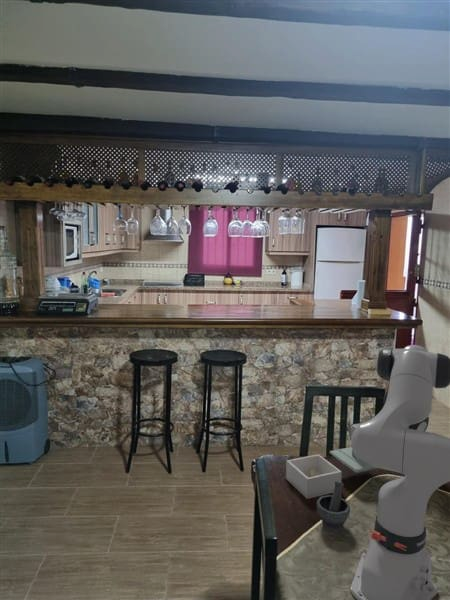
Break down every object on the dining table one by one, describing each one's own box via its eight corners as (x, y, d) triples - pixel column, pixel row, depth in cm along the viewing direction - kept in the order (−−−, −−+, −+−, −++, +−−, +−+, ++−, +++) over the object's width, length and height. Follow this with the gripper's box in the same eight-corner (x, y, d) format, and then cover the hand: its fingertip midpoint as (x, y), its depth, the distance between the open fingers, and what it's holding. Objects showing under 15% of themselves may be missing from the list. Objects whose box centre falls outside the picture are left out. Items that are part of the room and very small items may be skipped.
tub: (317, 471, 160) (318, 454, 160) (340, 490, 147) (341, 471, 147) (285, 478, 155) (286, 460, 154) (307, 498, 142) (307, 479, 142)
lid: (361, 450, 166) (362, 420, 165) (389, 468, 152) (390, 435, 151) (329, 456, 161) (330, 426, 159) (355, 476, 147) (357, 442, 145)
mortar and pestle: (342, 540, 122) (344, 501, 120) (311, 528, 127) (313, 490, 126) (353, 520, 131) (355, 483, 130) (325, 509, 136) (326, 474, 135)
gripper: (368, 417, 170) (340, 422, 164) (407, 438, 151) (377, 444, 146) (367, 432, 170) (339, 437, 165) (406, 454, 151) (376, 461, 146)
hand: (357, 441), depth 155 cm, fingers closed on lid, 3 cm apart
